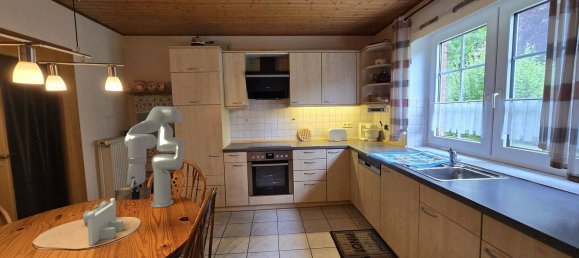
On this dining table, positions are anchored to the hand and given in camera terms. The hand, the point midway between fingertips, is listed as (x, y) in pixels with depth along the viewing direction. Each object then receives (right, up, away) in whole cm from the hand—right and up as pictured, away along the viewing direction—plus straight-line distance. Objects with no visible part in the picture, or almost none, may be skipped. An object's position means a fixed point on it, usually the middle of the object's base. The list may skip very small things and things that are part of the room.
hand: (137, 197), depth 122 cm
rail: (-2, 0, 0) cm, 2 cm away
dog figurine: (-25, -15, +8) cm, 31 cm away
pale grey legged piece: (-10, -16, -5) cm, 19 cm away
